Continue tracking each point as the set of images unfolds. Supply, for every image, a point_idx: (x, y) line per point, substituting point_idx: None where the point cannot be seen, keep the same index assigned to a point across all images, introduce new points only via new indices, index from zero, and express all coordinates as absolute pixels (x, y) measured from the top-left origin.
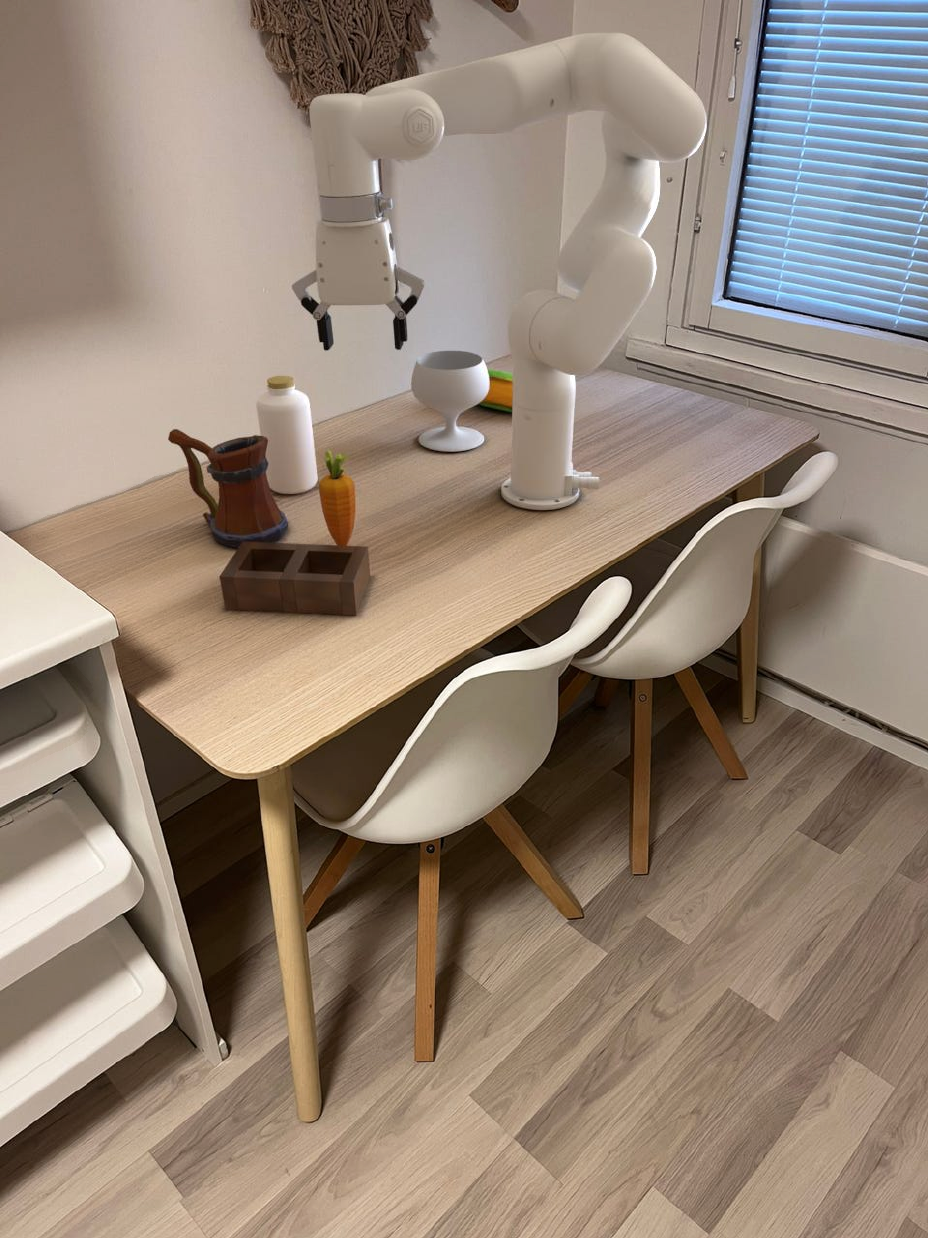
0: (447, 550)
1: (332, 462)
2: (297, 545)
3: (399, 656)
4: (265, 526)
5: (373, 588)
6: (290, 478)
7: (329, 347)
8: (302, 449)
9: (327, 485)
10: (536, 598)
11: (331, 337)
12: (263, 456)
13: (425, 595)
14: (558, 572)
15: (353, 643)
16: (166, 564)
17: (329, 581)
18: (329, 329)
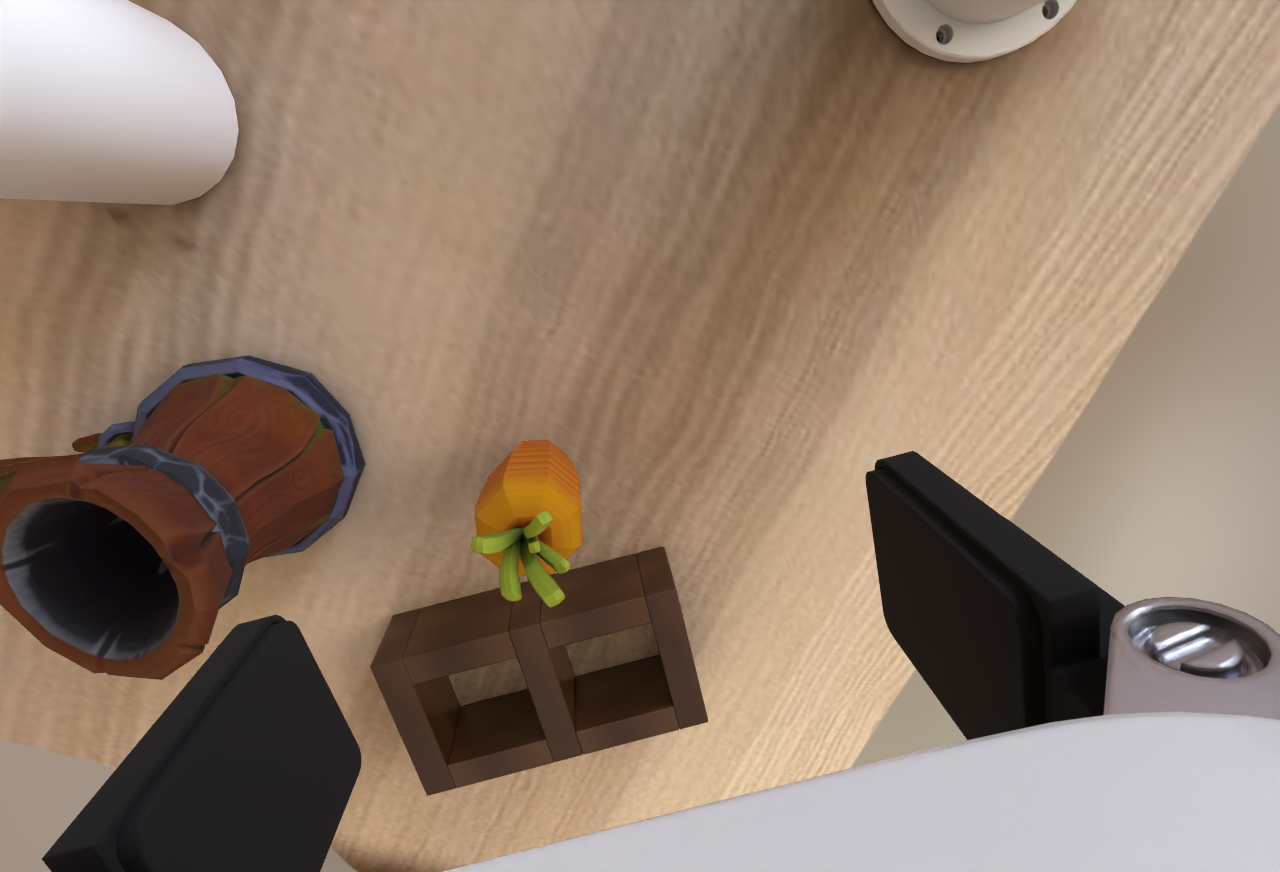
0: (789, 372)
1: (506, 542)
2: (510, 638)
3: (810, 737)
4: (327, 505)
5: (685, 576)
6: (175, 194)
7: (353, 756)
8: (148, 140)
9: (523, 575)
10: (1014, 501)
11: (286, 710)
12: (218, 547)
13: (797, 564)
14: (1052, 387)
15: (723, 735)
16: None
17: (659, 734)
18: (265, 819)
